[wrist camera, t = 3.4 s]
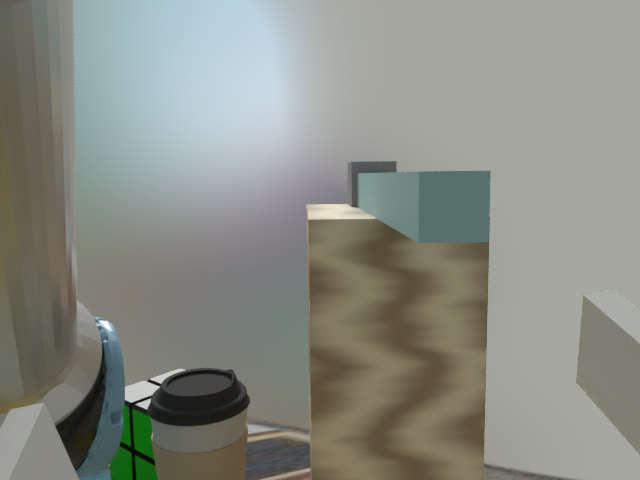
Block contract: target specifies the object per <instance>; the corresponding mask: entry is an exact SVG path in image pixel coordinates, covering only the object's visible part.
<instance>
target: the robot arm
mask: <svg viewBox="0 0 640 480" xmlns="http://www.w3.org/2000/svg"><path fill="white" fill-rule="evenodd" d="M75 189H76V188H75V113H74V40H73V0H0V480H79V478H82V477H86V476H89V475H92V474H96V473H98V472H100V471H102V470H104V469H105V468H106V467H107V466H108V465H109V464H110V463H111V462H112V461H113V459H114V457H115V456H116V454H117V451H118V449H119V445H120V442H121V437H122V432H123V423H124V419H123V413H122V410H123V408H124V404H125V377H124V365H123V357H122V352H121V346H120V342H119V338H118V334H117V332H116V330H115V328H114V326H113V325H112V324H111V323H110V322H108V321H107V320H106V319H104V318H94V317H92V315H91V314H90V313H89V311H88V310H87V309H86V308H85V307H84V306H83V305H82V304H81V303H80V302H79V301H77V268H76V267H77V264H76V192H75ZM576 383H577V384H578V385H579V386H580V387H581V388H582V390H583V391H584V392H585V393H586V394H587V395H588V396H589V398H590V399H591V400H592V401H593V402H594V403H595V404H596V405H597V407H598V408H599V409H600V410H601V411H602V412H603V413H604V414H605V416H606V417H607V418H608V419H609V420H610V421H611V422H612V424H613V425H614V426H615V427H616V428H617V429H618V430H619V431H620V433H621V434H622V435H623V436H624V437H625V438H626V439H627V441H628V442H629V443H630V444H631V445H632V446H633V447H634V448H635V450H636V451H637V452H638V453H639V454H640V310H638V309H637V308H636V307H634V306H633V305H632V304H631V303H629V302H628V301H627V300H626V299H624V298H623V297H622V296H620V295H619V294H618V293H617V292H615V291H614V290H612V289H611V290H606V291H601V292H596V293H591V294H587V295H584V296H583V306H582V319H581V331H580V343H579V356H578V368H577V380H576Z"/></svg>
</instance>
